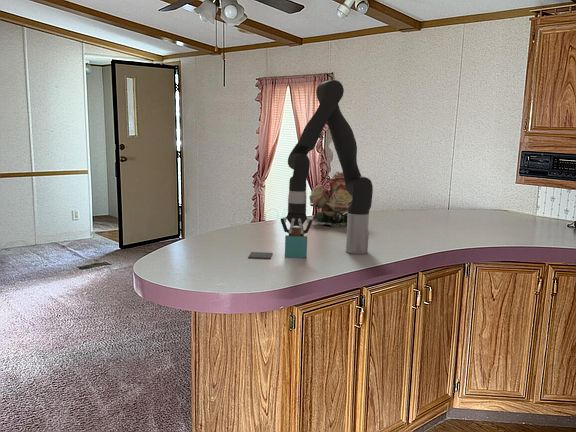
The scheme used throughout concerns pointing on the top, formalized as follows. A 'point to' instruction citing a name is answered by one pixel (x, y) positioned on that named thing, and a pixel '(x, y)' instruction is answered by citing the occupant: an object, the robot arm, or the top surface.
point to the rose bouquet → (332, 202)
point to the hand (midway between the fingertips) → (295, 242)
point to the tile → (296, 246)
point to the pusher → (296, 231)
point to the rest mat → (260, 255)
